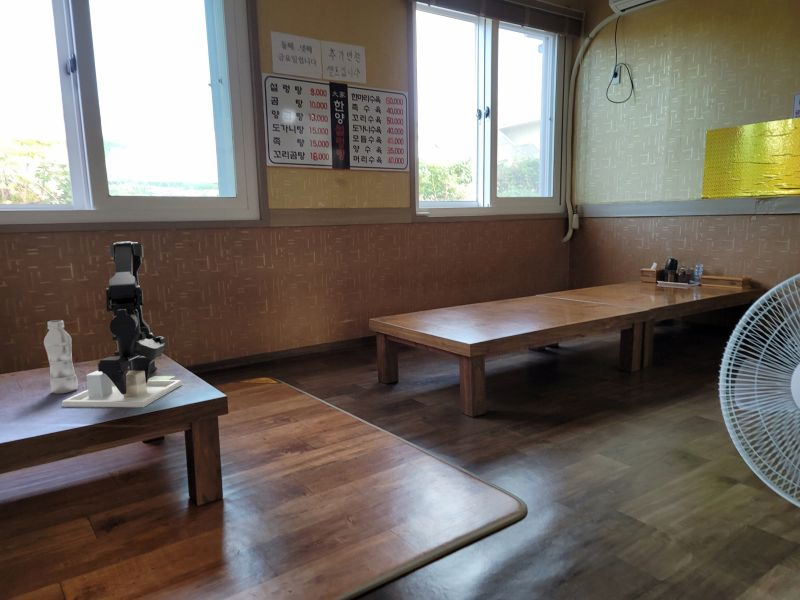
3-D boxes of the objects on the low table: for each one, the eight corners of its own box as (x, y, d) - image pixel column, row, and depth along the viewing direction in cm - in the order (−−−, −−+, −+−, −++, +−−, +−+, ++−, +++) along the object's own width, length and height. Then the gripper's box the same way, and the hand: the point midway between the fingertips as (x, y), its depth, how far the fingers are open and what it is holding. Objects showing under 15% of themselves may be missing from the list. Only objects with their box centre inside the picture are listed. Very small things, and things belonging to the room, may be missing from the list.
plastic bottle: (67, 396, 148) (57, 323, 145) (45, 396, 149) (34, 323, 146) (84, 389, 154) (75, 318, 151) (63, 388, 155) (53, 319, 152)
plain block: (88, 397, 145) (86, 375, 144) (99, 392, 149) (96, 370, 148) (102, 397, 144) (100, 375, 143) (112, 392, 148) (110, 370, 147)
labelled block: (123, 397, 143) (120, 375, 143) (132, 392, 147) (130, 370, 146) (138, 397, 143) (135, 375, 142) (147, 392, 147) (144, 370, 146)
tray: (62, 408, 138) (61, 401, 138) (109, 386, 156) (108, 379, 156) (143, 409, 135) (142, 402, 135) (182, 386, 153) (181, 380, 153)
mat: (141, 383, 157) (141, 382, 157) (153, 377, 163) (153, 376, 163) (164, 384, 156) (164, 382, 156) (175, 377, 162) (175, 376, 162)
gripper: (134, 338, 132) (142, 400, 135) (176, 322, 151) (182, 378, 153) (92, 338, 134) (100, 400, 136) (138, 323, 152) (145, 378, 154)
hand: (134, 388), depth 145 cm, fingers open, 9 cm apart
